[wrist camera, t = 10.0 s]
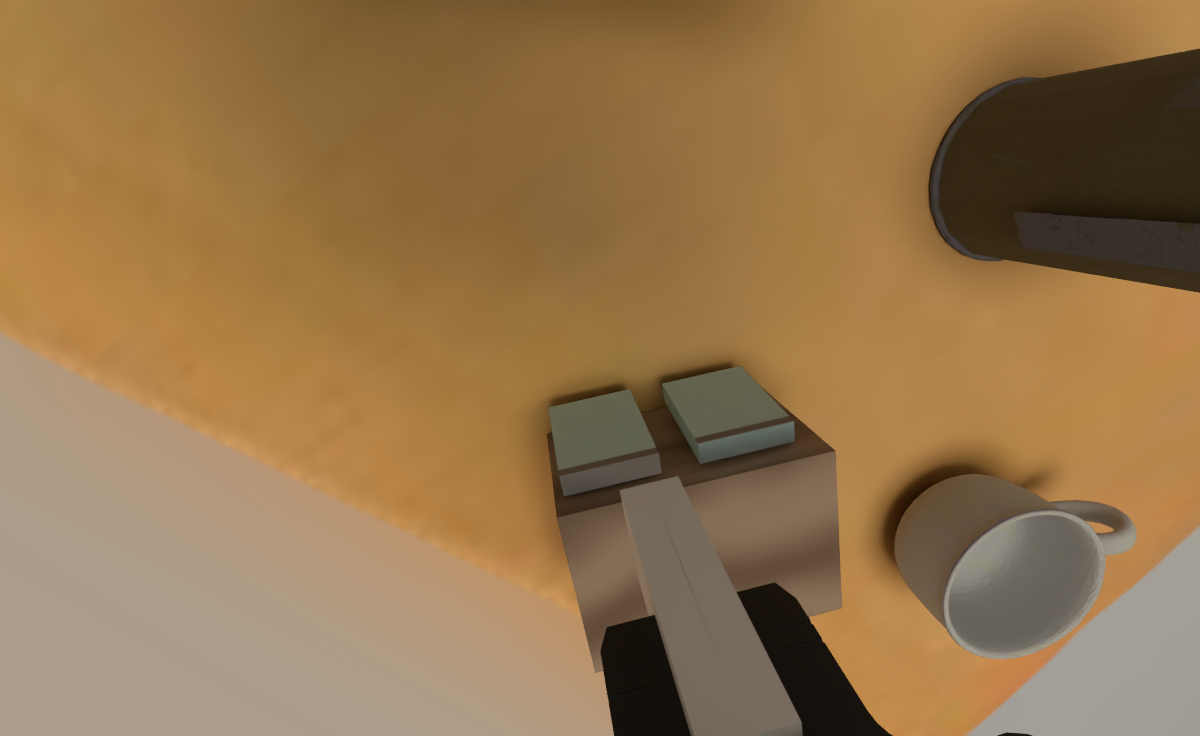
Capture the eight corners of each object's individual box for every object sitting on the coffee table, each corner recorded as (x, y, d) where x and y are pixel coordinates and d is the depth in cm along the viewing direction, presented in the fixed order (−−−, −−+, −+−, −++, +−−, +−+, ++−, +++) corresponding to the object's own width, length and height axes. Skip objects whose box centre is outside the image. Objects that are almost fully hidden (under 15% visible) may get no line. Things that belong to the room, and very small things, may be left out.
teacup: (872, 592, 43) (947, 679, 36) (869, 472, 40) (952, 541, 32) (1037, 548, 44) (1143, 624, 37) (1049, 427, 41) (1170, 484, 33)
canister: (1070, 43, 32) (1854, -146, 13) (1099, 209, 36) (1746, 245, 17) (900, 138, 32) (1429, 86, 14) (946, 293, 36) (1413, 420, 17)
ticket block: (547, 434, 35) (557, 517, 27) (759, 385, 36) (835, 450, 28) (577, 562, 39) (595, 673, 30) (771, 514, 40) (841, 608, 31)
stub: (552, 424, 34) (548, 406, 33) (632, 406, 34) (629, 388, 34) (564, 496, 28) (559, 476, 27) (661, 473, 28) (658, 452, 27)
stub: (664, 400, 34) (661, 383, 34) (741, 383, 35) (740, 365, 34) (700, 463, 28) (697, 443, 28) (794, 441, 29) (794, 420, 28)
